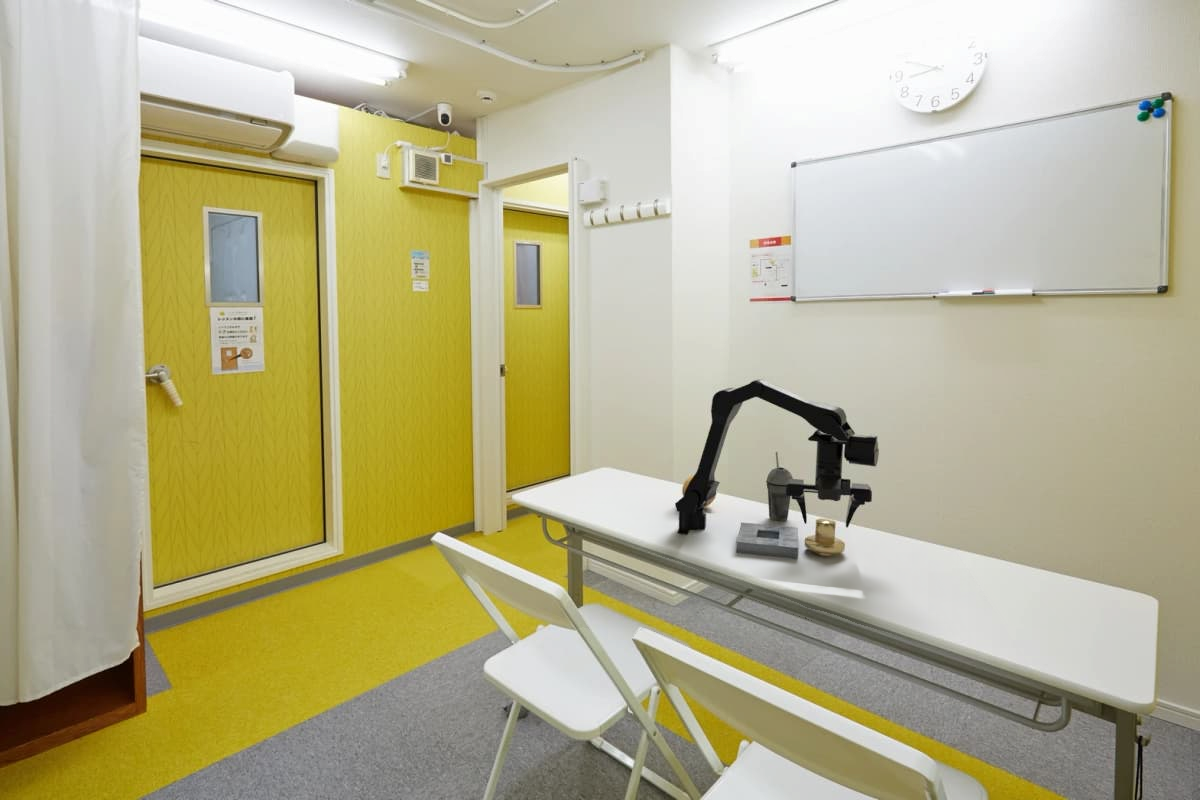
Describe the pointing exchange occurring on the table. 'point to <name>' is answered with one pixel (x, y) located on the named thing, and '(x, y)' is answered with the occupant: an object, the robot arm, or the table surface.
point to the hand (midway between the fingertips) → (825, 525)
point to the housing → (768, 540)
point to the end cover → (825, 539)
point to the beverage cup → (778, 493)
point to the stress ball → (686, 487)
